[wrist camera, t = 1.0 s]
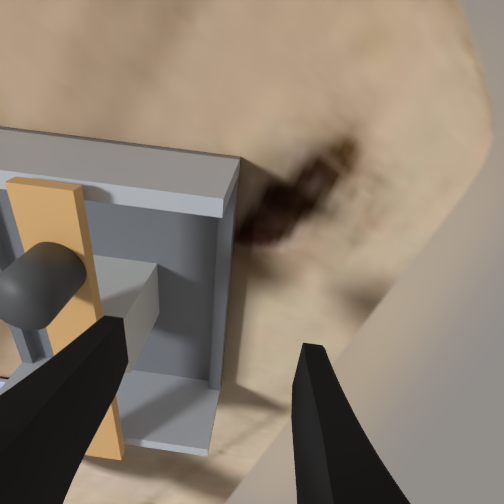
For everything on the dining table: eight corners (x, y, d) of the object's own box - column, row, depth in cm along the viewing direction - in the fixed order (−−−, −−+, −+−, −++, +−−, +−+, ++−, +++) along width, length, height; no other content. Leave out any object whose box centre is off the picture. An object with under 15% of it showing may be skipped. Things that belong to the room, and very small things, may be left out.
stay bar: (125, 450, 22) (104, 503, 20) (87, 445, 22) (61, 497, 20) (81, 185, 13) (30, 220, 10) (15, 176, 13) (-52, 209, 10)
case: (221, 383, 27) (207, 456, 23) (34, 357, 28) (-19, 423, 23) (240, 156, 18) (223, 198, 13) (-43, 120, 18) (-161, 149, 13)
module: (159, 312, 23) (130, 373, 19) (100, 304, 23) (59, 363, 19) (157, 263, 21) (124, 319, 17) (92, 254, 21) (43, 308, 17)
